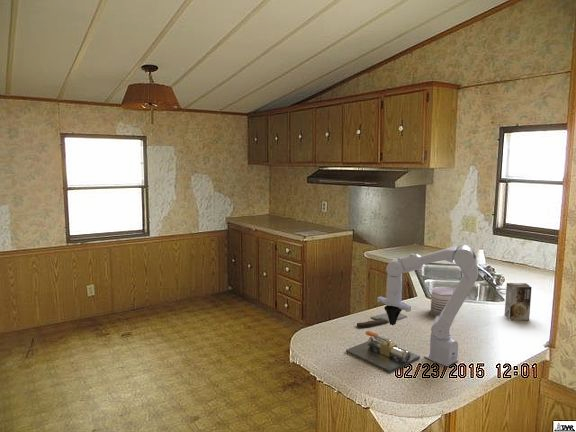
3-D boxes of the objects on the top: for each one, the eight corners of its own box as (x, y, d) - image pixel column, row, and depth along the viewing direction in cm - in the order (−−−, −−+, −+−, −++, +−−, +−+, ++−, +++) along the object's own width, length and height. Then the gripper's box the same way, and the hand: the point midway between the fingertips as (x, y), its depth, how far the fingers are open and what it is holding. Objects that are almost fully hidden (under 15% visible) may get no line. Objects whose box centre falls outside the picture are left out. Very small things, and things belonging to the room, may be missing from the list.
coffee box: (523, 315, 209) (526, 283, 207) (529, 320, 203) (532, 287, 201) (503, 314, 210) (506, 282, 208) (509, 319, 204) (511, 286, 201)
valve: (419, 358, 164) (420, 344, 163) (389, 373, 152) (390, 358, 152) (376, 340, 180) (376, 327, 179) (345, 352, 168) (346, 338, 168)
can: (458, 317, 206) (459, 293, 204) (434, 317, 206) (435, 293, 204) (449, 309, 217) (451, 286, 215) (426, 309, 217) (428, 285, 215)
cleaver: (364, 331, 190) (364, 326, 189) (349, 323, 198) (349, 319, 197) (409, 318, 206) (409, 313, 206) (393, 312, 214) (393, 307, 214)
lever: (392, 342, 164) (392, 339, 164) (389, 344, 163) (389, 341, 163) (368, 333, 173) (368, 330, 173) (365, 334, 172) (365, 331, 171)
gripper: (372, 288, 171) (371, 321, 173) (403, 297, 160) (401, 332, 162) (384, 284, 175) (382, 317, 177) (414, 293, 164) (413, 328, 166)
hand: (392, 324), depth 170 cm, fingers closed
